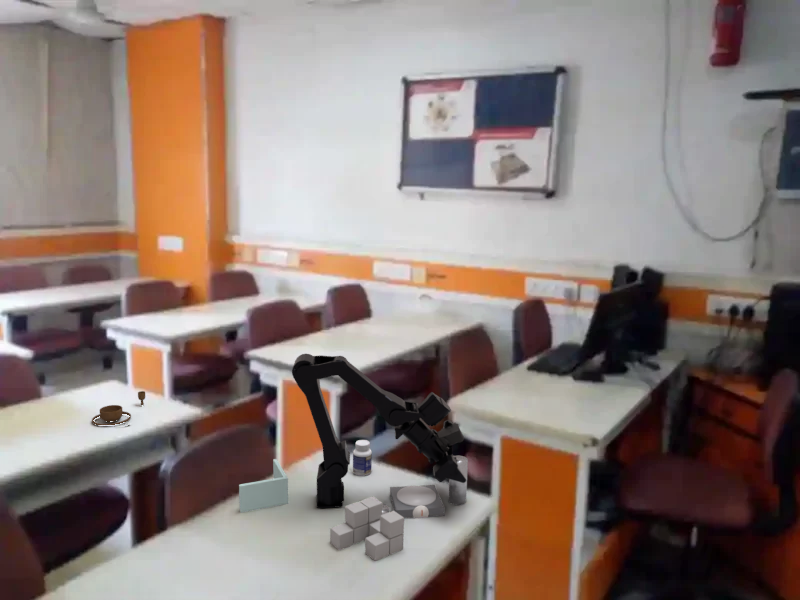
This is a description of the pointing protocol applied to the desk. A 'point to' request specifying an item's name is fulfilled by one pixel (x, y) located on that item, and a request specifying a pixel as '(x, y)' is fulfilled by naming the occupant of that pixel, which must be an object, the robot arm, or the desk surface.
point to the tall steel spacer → (459, 484)
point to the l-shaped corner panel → (265, 491)
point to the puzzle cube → (369, 529)
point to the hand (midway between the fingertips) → (463, 477)
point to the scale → (417, 501)
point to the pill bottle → (362, 458)
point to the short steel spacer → (385, 509)
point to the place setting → (115, 412)
